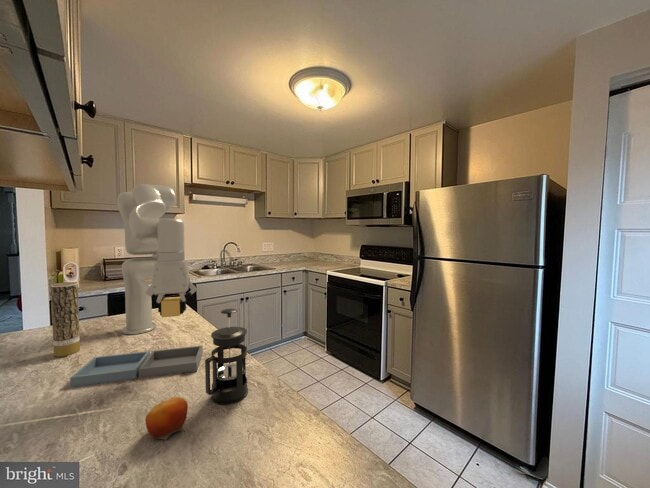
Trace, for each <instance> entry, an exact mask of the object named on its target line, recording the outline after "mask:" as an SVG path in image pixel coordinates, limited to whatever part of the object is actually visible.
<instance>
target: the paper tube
mask: <svg viewBox="0 0 650 488" xmlns="http://www.w3.org/2000/svg"><path fill="white" fill-rule="evenodd" d="M50 297H51V298H50V299H51V317H52V319H51V320H52V346H53V355H54V356H55V357H56V358H62V357H63V358H64V357H68V356H70V355H74V354H76V353H78V352H80V350H81V344H80V343H81V342H80V341H81V339H80V312H79V311H80V310H79V288H78V282H77V281H65V282H57V283H52V284H50Z"/></svg>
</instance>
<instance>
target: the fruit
mask: <svg viewBox="0 0 650 488" xmlns="http://www.w3.org/2000/svg"><path fill="white" fill-rule="evenodd" d="M151 408H152V409H150V411H149V412H148V413H147V414H146V416H145V427H146V430H147V432H148V434H149V435H150V436H151V437H152V438H154V439H156V440H164V441H167V439H168V438H169V437H170V436H171V435H173V433H176V432H178V431H184V432H186V430H185V429H184V425H185V423H186V421H187V415H188V409H189V404H188V402H187V400H186V399H185V398H183V397H182V396H181V397H180V396H173V397H171V398H169V399H165V400H161V401H160V402H159V403H157V404H155V405H154V406H152V407H151Z"/></svg>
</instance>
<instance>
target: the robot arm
mask: <svg viewBox="0 0 650 488" xmlns="http://www.w3.org/2000/svg"><path fill="white" fill-rule="evenodd" d="M175 204H176V192H175V190H174V189H173V188H171V187H170V186H168V185H167V186H166V185H158V184H149V183H141V184H137V185H135V186H134V187H133V188H132V191H125V192H120V193H119V195H118V196H117V208H118V212H119V214H120V216H121V218H122V221H123V224H124V243H125V244H124V246H125V251H126V253H127V254H128V255H131V256H142V255H143V256H144V255H151V257H134V258H129V259H125V260H124V261H123V263H122V265H121V274H122V278H123V282H124V298H125V300H124V302H125V305H124V306H125V327H123V328H121V333H122V334H123V335H138V334H144V333H148V332H150V331H153V330H154V329H157V324H156V323H155V322H153V312H152V311H153V306H152V304H153V303H152V299H153V300H154V301H155V302H156V303H157V309H158V311H157V312H158V313H159V315H160V316H161V317H162V314H161V301H162V300H164V299H165V295H172V294H179V297H181V302H180V314H181V315H183V314H184V312H185V311H187V300H188V299H189V298H190V297H191V296H192V295H193V294H195V293H196V292H198V288H197V286H195V284H193V283H192V281H191V279H190V271H189V266H188V265H189V264H188V261H187V260H185V223H184V221H183V219H180V218H161V217H164V215H165V213H167V212H168V211H169V210H171V209H172V208H173V207H174V206H175ZM150 279H152V282H151V285H149V284H148V283H147V282H146V281H145V280H150ZM189 289H190V291H189ZM187 291H188V292H187ZM186 292H187V293H186Z"/></svg>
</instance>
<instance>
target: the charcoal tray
mask: <svg viewBox="0 0 650 488" xmlns="http://www.w3.org/2000/svg"><path fill="white" fill-rule="evenodd" d="M202 357H203V345H193V346H186V347H176V348H166V349H157V350H152V351H150V355H149V356H148V358H147V359H146V360H145V362H144V363H143V364H142V366H141V367H140V368H139V375H138V379H142V378H151V377H158V376H165V375H166V376H167V375H172V374H173V375H174V374H188V373H189V374H190V373H197V372H198V369H199V366H200V363H201V360H202Z"/></svg>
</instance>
